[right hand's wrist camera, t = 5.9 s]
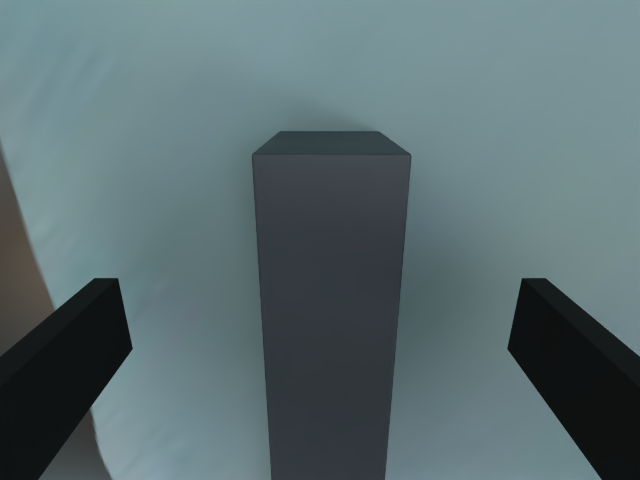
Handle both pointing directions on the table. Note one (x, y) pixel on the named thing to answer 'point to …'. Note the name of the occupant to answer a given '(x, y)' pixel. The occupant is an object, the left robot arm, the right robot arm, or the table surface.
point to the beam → (330, 297)
